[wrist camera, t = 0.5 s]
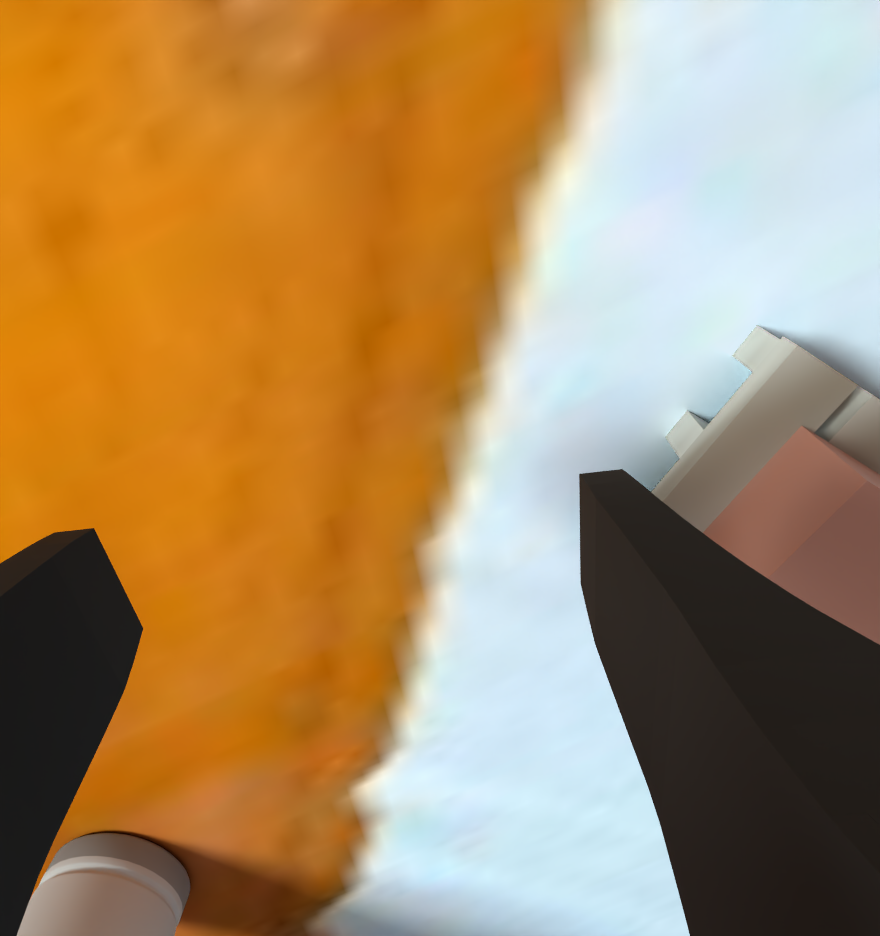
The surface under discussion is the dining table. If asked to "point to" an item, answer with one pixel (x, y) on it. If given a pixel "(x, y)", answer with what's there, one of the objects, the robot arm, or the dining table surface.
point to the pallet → (765, 426)
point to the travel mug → (108, 890)
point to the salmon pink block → (812, 529)
